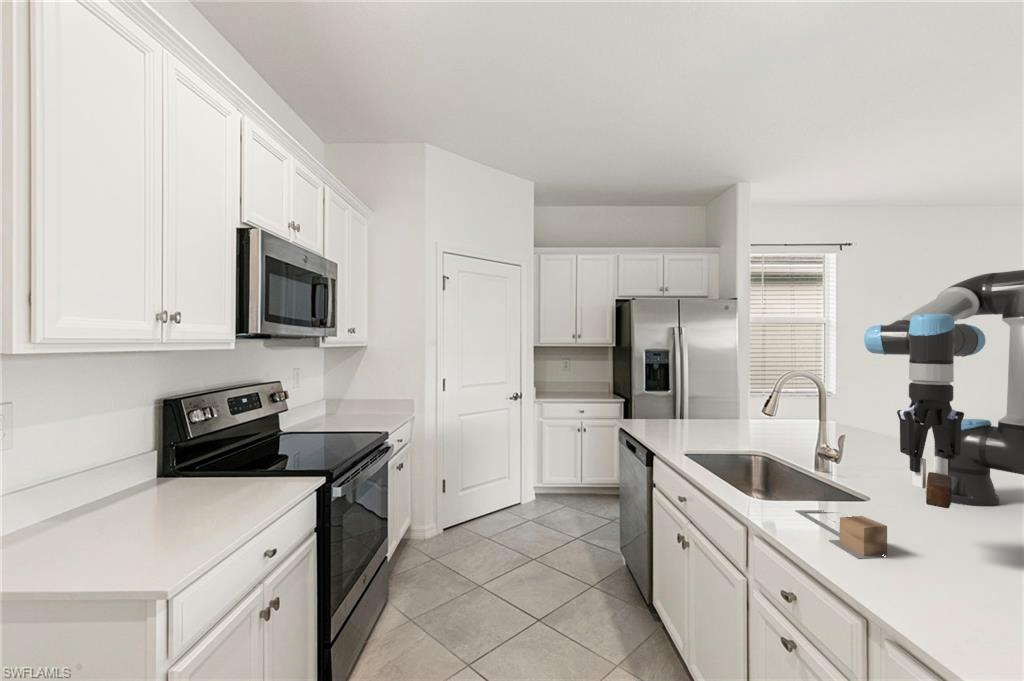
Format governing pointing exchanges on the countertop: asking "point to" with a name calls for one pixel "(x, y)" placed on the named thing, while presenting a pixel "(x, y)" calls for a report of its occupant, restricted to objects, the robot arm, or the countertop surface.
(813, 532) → the countertop surface
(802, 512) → the frame
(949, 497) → the brick
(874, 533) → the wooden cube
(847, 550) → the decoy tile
